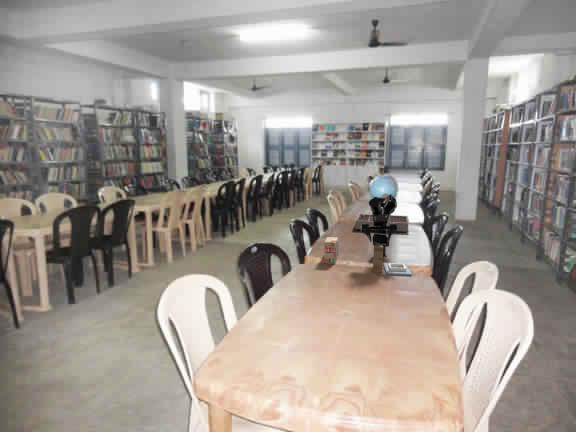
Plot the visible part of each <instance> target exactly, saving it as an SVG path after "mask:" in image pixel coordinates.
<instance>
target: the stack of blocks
mask: <svg viewBox="0 0 576 432" xmlns="http://www.w3.org/2000/svg"><path fill="white" fill-rule="evenodd" d="M339 240H340V239H339V238H338V237H337V236H336V237H335V236H332V237H331V236H327V237H326V238H325V240H324V251H323V254H324V256H323V257H324V259H323V260H324V261H323V263H324V264H331V265H336V264H337V261H338V257H339V251H340V248H339V247H340V244H339V243H340V242H339ZM337 256H338V257H337Z"/></svg>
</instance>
